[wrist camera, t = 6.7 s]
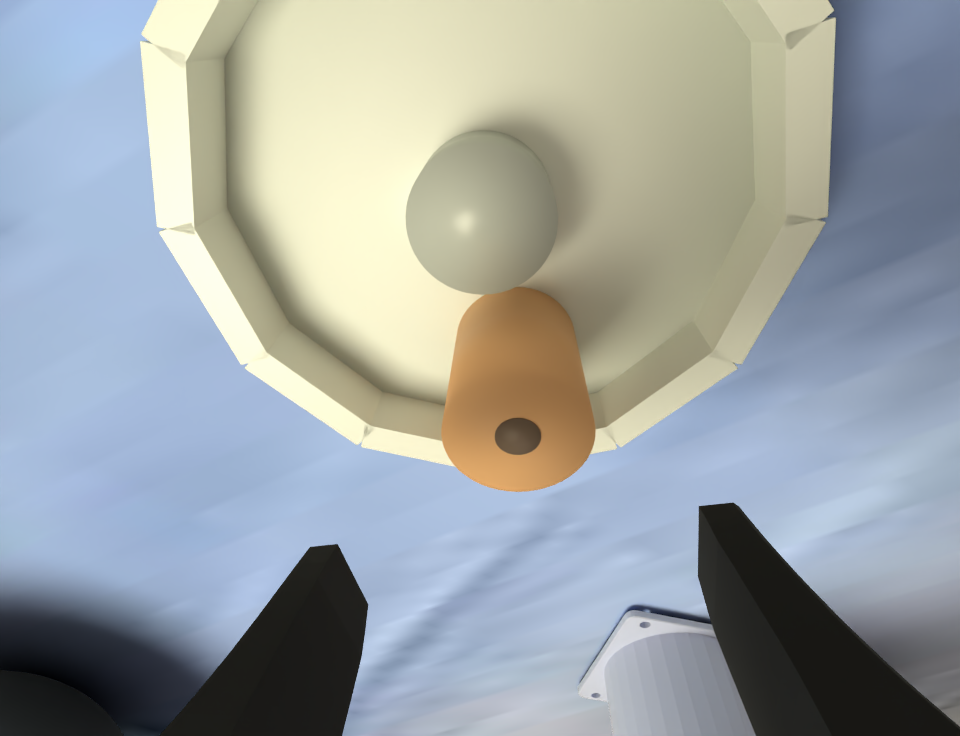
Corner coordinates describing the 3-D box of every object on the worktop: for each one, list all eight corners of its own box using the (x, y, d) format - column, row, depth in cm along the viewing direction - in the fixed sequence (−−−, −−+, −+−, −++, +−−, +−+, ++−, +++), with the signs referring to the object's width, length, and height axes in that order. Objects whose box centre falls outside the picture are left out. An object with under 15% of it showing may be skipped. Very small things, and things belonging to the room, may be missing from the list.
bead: (591, 302, 17) (619, 393, 13) (554, 400, 19) (567, 504, 15) (471, 274, 17) (458, 356, 13) (445, 376, 19) (428, 476, 15)
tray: (924, -71, 12) (1012, -92, 10) (640, 459, 21) (655, 508, 19) (181, -310, 11) (100, -395, 9) (210, 366, 20) (173, 407, 18)
